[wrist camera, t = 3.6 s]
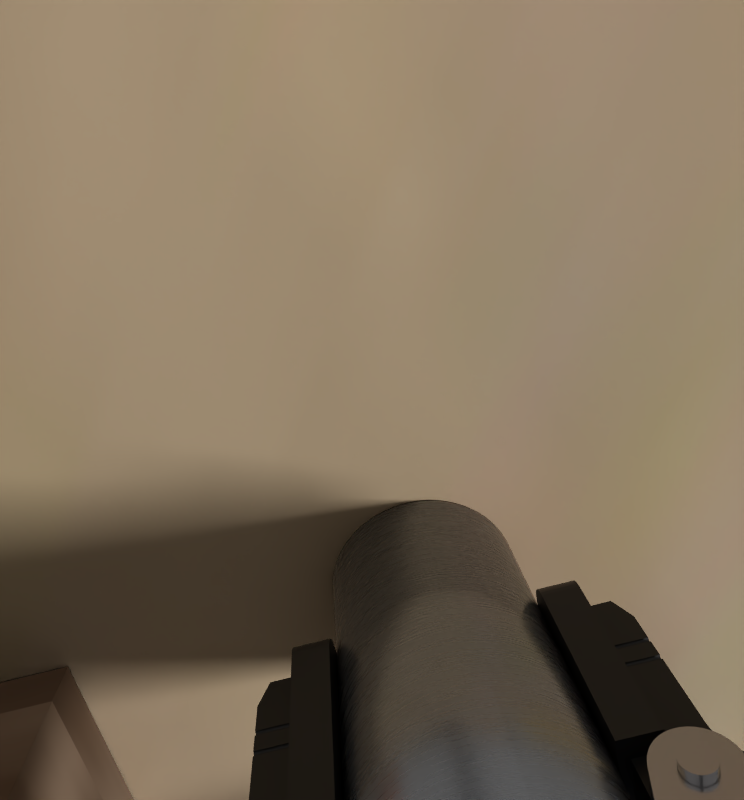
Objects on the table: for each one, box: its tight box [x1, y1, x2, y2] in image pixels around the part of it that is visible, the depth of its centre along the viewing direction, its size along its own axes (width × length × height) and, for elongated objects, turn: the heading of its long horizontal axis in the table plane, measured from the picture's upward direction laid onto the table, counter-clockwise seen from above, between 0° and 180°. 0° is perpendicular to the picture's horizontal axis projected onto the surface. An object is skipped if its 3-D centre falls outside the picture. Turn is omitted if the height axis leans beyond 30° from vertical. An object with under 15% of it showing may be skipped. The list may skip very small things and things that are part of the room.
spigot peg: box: [333, 500, 632, 800], centre depth 11 cm, size 4×4×9 cm
